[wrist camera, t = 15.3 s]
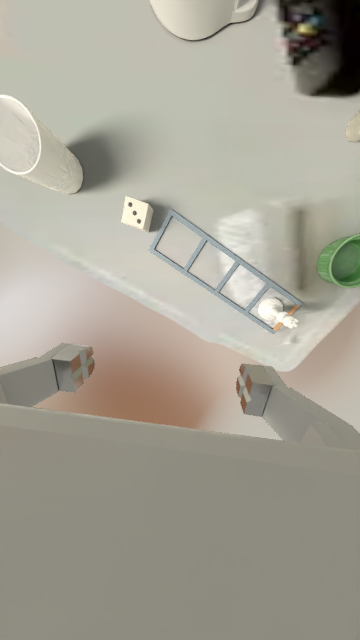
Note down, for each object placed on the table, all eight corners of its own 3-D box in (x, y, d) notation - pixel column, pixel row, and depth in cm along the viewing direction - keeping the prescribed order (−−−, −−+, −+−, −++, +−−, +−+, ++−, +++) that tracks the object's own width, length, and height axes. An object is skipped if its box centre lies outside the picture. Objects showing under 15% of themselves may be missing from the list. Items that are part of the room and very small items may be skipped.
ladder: (170, 209, 32) (170, 208, 32) (301, 303, 36) (302, 303, 36) (148, 250, 35) (148, 250, 35) (272, 333, 39) (273, 334, 38)
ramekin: (351, 224, 31) (376, 218, 27) (372, 263, 33) (398, 264, 28) (304, 258, 33) (320, 259, 29) (326, 293, 35) (344, 298, 31)
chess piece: (287, 305, 36) (319, 321, 27) (270, 323, 38) (296, 344, 29) (269, 293, 36) (295, 305, 26) (253, 311, 37) (273, 329, 28)
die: (133, 203, 32) (125, 195, 28) (153, 210, 32) (148, 203, 29) (129, 225, 34) (121, 221, 30) (148, 232, 34) (142, 229, 30)
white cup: (89, 199, 33) (47, 174, 23) (50, 197, 33) (-7, 173, 24) (83, 145, 30) (32, 94, 20) (40, 145, 30) (-28, 94, 21)
